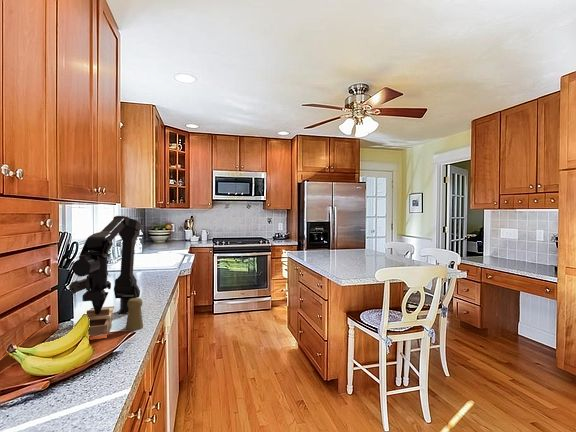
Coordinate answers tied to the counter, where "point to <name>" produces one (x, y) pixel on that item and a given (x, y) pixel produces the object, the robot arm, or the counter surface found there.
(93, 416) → the counter surface
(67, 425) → the counter surface
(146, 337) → the counter surface
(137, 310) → the brown bottle
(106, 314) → the lid
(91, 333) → the toolbox
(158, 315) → the counter surface
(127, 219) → the robot arm
